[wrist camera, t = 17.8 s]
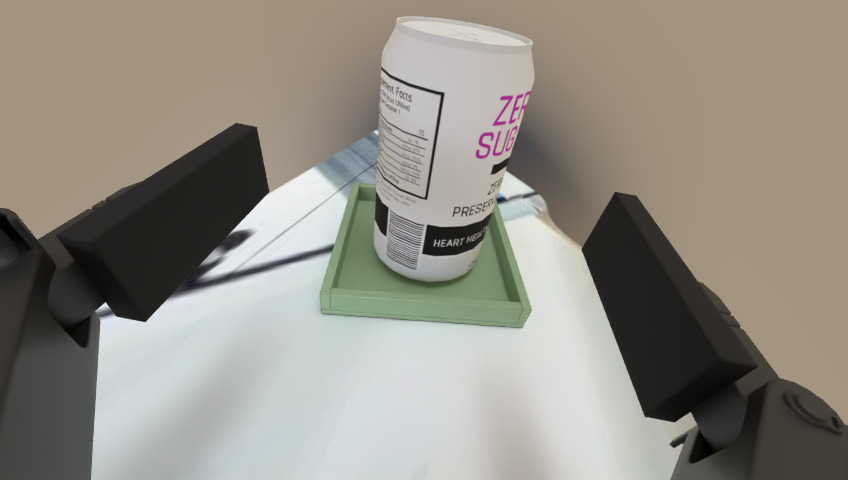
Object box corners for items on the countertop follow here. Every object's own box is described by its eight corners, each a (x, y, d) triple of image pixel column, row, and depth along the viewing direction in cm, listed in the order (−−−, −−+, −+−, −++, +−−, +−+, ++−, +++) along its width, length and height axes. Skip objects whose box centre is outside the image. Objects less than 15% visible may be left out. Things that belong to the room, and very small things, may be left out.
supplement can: (385, 212, 29) (399, 9, 20) (476, 228, 29) (534, 32, 20) (360, 276, 23) (363, 25, 14) (476, 297, 23) (561, 59, 14)
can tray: (321, 313, 21) (319, 293, 20) (353, 199, 31) (353, 182, 30) (522, 328, 22) (532, 310, 21) (490, 213, 32) (495, 197, 31)
